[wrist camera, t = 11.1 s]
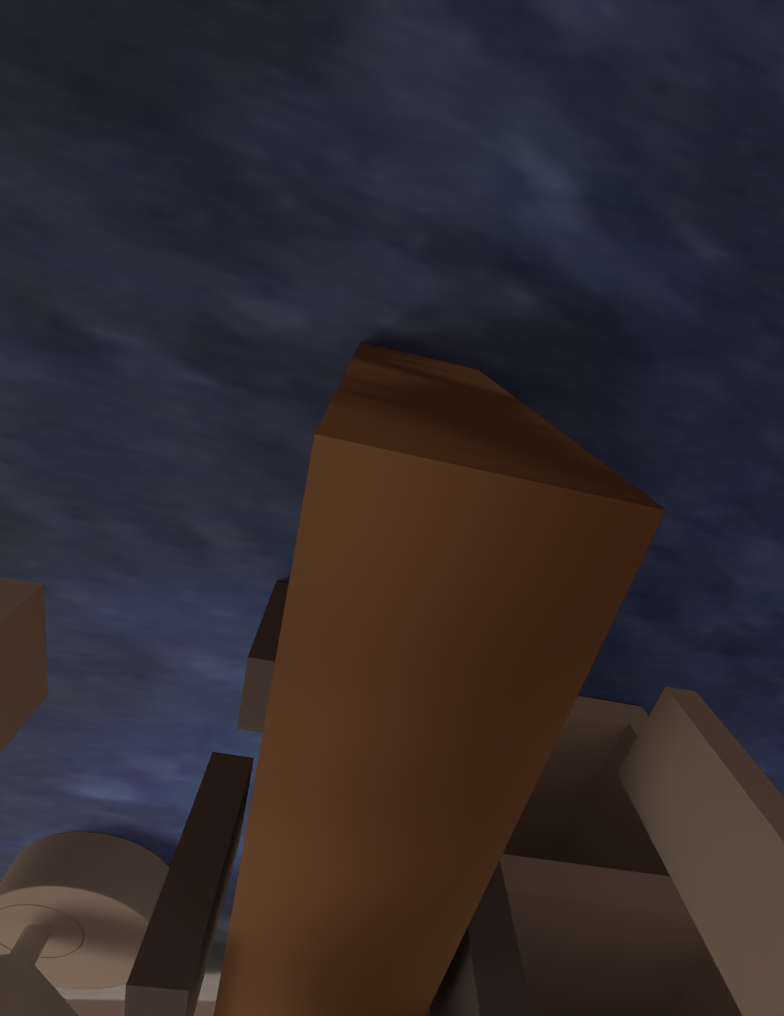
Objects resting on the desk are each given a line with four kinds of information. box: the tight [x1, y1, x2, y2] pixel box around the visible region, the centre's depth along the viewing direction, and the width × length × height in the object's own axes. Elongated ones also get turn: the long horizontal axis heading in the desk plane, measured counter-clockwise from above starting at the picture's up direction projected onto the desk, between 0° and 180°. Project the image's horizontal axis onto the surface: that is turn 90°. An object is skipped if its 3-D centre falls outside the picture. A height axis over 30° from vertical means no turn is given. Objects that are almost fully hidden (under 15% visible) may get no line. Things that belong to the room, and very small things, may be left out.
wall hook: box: [0, 832, 169, 1016], centre depth 22 cm, size 9×10×10 cm
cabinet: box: [125, 581, 743, 1016], centre depth 17 cm, size 17×19×16 cm
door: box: [214, 342, 666, 1016], centre depth 13 cm, size 5×12×12 cm, turn 167°
